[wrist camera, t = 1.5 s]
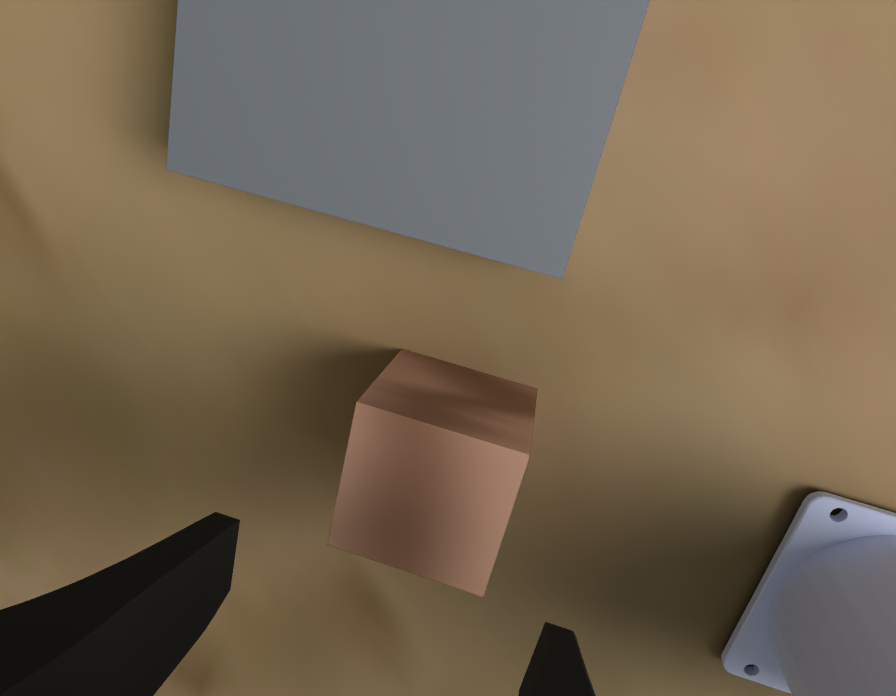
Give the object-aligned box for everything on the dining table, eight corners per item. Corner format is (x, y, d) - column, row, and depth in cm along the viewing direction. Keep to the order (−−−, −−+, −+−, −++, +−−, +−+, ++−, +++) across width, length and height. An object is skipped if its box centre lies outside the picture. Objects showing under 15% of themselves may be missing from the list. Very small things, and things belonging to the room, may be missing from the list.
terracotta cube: (537, 388, 20) (530, 455, 16) (499, 505, 22) (483, 596, 17) (402, 348, 21) (356, 401, 16) (375, 465, 23) (327, 544, 18)
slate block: (703, -193, 15) (736, -276, 12) (562, 261, 19) (562, 279, 16) (266, -277, 16) (203, -370, 13) (221, 168, 20) (166, 169, 17)
